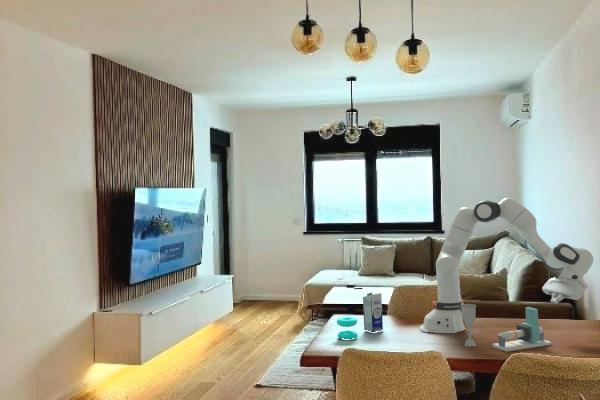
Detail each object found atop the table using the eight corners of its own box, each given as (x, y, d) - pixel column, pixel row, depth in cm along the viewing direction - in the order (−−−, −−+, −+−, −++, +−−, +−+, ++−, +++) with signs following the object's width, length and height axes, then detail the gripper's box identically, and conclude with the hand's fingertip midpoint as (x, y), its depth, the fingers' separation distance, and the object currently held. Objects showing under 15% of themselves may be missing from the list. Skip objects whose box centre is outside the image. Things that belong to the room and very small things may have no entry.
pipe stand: (506, 351, 238) (505, 335, 238) (492, 346, 247) (492, 330, 247) (550, 344, 246) (550, 328, 246) (536, 340, 255) (535, 324, 255)
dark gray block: (526, 341, 244) (526, 327, 244) (517, 338, 249) (516, 324, 250) (529, 341, 244) (529, 327, 244) (519, 338, 250) (519, 324, 250)
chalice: (459, 343, 254) (458, 304, 254) (474, 342, 255) (472, 303, 255) (466, 347, 247) (464, 307, 247) (480, 346, 248) (479, 306, 248)
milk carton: (373, 334, 279) (371, 294, 279) (364, 331, 284) (362, 293, 284) (383, 331, 283) (381, 292, 283) (374, 329, 288) (372, 291, 288)
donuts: (333, 319, 270) (341, 315, 279) (334, 340, 270) (342, 335, 279) (352, 321, 265) (360, 316, 274) (353, 342, 265) (360, 337, 274)
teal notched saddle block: (532, 342, 244) (531, 310, 244) (521, 338, 251) (520, 307, 251) (539, 341, 245) (538, 309, 245) (528, 337, 252) (527, 306, 252)
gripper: (548, 272, 265) (532, 294, 262) (583, 277, 246) (566, 301, 242) (556, 280, 266) (540, 303, 263) (591, 286, 247) (574, 310, 244)
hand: (553, 302), depth 253 cm, fingers closed
